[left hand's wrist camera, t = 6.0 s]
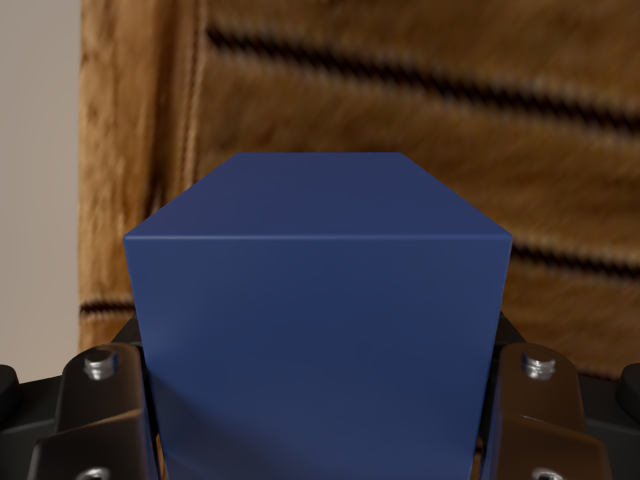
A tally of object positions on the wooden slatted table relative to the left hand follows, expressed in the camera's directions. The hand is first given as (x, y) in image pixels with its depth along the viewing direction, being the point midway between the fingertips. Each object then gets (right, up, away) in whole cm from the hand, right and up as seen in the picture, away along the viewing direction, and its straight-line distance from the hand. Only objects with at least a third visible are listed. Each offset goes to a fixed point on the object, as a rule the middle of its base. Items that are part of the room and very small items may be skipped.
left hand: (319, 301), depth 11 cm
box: (0, -7, +8) cm, 10 cm away
